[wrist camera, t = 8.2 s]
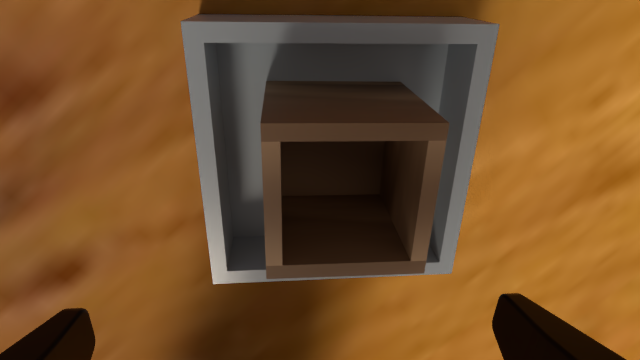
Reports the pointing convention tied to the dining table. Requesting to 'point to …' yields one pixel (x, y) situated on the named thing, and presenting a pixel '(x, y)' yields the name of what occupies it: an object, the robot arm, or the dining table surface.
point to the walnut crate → (348, 178)
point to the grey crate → (323, 65)
